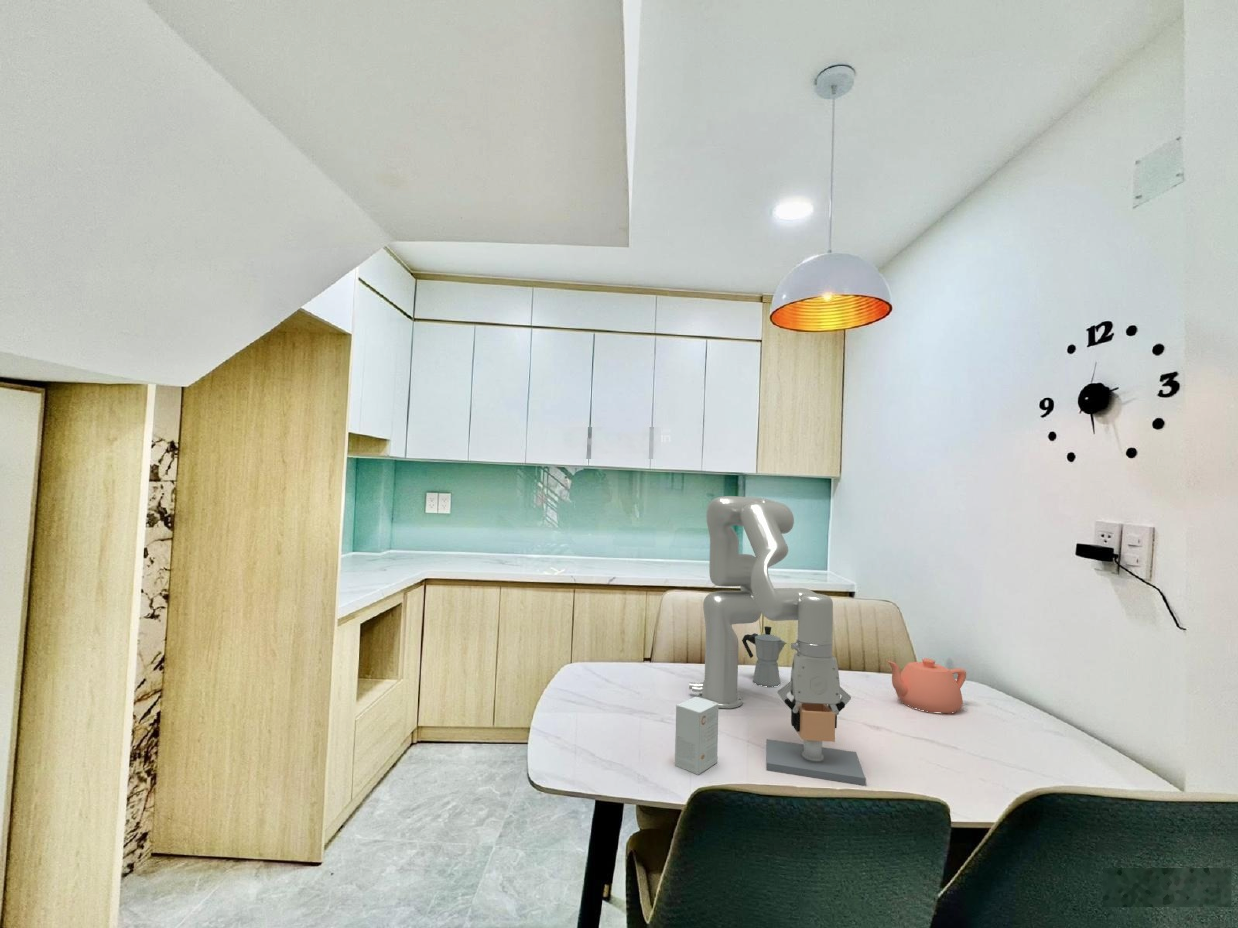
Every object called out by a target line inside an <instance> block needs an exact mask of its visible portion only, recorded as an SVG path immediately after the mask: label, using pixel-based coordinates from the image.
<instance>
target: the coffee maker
mask: <svg viewBox="0 0 1238 928" xmlns="http://www.w3.org/2000/svg"><path fill="white" fill-rule="evenodd" d="M763 628H764V633H762V634H761V633H760V634H758V633H754V632H753V633H752V634H745V635H744V636H743V638H742V639H741V642H742V644H743V647H744V648H745V650H746V653H747V654H748V657H749V659H752V658H753V657H754V655H753V652H752V650H751V648H750V646H749V644H748V642H750V644H751V643H752V644H753V645H755V655H756V659H757V660H756V661H755V662H756V663H755V668H754V673H753V678H752V683H753V684H755V683H756V684H757V685H756V684H755V685H756V686H759V685H762V686H761V687H763V686H767V687H766V688H775V687H774V686H778V685H779V684H780V685H781V680H780V672H779V671H780V670H779V663H778V662H777V661H778V660H779V658H780V653H781V652H782V650H783V649H784V647H785V645H787V644H788V643H787V642H786V641H784V640H782V639H781V638H780V637H778V636H776V635H774V634H772V633H771V631H772V627H771V626H764V627H763ZM780 685H779V686H780ZM772 686H773V687H772ZM779 686H778V687H779Z"/></svg>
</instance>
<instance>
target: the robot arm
mask: <svg viewBox="0 0 1238 928" xmlns="http://www.w3.org/2000/svg"><path fill="white" fill-rule="evenodd" d="M706 523H707V529H708V533H709V565H708V566H709V569H708V570H709V580H710V581H711V583H712V584H713V585H715V586H718V587H740V590H717V591H712V592H710V593H708V594H707V595H705V597H704V600H703V604H702V605H703V606H702V609H703V615H704V622H705V623H704V624H705V625H704V627H705V648H704V649H705V650H704V651H705V652H704V653H705V656H704V680H703V682H700V683H696V682H690V681H689V687H688V689H689V690H691V692H696V693H697V692H698V697H699V698H703V699H707V700H710V701H713V702H716V703H718V704H719V709H734V708H735V709H737V708H739V707H740V706H742V705H743V698H742V697H741V695H739V694H738V678H739V675H738V673H739V672H738V671H739V637H738V635H737V633H736V631H735V630H734V628H733V626H732V625H739V624H742V625H743V624H752V623H753V624H754V623H756V622H758V621H759V619H760V618H761V617H762V616H763V617H765V618H766V619H768V620H769V621H772V622H773V621H774V622H775V621H777V622H783V621H785V622H786V621H797V639H796V642H792V643H790V649H791V650H795V651H796V652H795V653H794V654H793V659H792V664H791V672H790V681H789V682H787V683H786V684H785V685H784V686H782V687H781V688H780V689H778V691H777V694H778V696H779V697H780V698H781V699H782V701H783V702H784V703H785V705H786V706H787V707H788V708H789V709H790V710H791V711H790V713H791V715H790V725H791V726H792V727H793V729H794V728H795V729H794V730H795V732H796V733H797V732H799V731H800V713H799V709H800V707H801V705H802V703H807V704H826V705H828V706H829V707H830V709H831V710H832V711H833V712H834V713H835V729H837V728H838V724H837V723H838V715H840V712H841V711H842V710H844V708H845V707H846V705H847V704H849V702H850V701H851V700H852V696H851V695H850V694H849V693H848V692H847V691H846V690H844V689H843V688H842V687H841V684H840V674H839V666H838V660H837V657H835V656H833V642H834V641H833V640H834V639H833V637H834V635H833V634H834V633H833V632H834V630H833V629H834V625H833V624H834V623H833V621H834V603H833V599H832V597H830V596H828V595H826V594H823V593H822V594H821V593H816V592H814V591H813V590H811V589H808V588H802V587H783V588H782V587H781V588H779V587H778V588H777V587H776V588H774V585H773V583H772V580H771V579H770V575H769V568H770V567H772V566H774V565H776V564H779V563H780V562H781V561H782V560H784V559H785V558H786V557H787V556H788V553H789V547H788V544H787V542H786V540H785V538H784V534H788V533H789V532H791V531H792V530H793V527H794V524H795V519H794V514H793V512H792V509H790V507H789V506H788V505H786V504H784V503H782V502H779V501H775V500H771V499H767V498H764V497H755V496H754V497H753V496H751V497H750V496H737V495H736V496H734V495H726V496H725V495H724V496H719V497H718V496H717V497H715V498H713V499H712V500H711V501H710V502H709V504H708V506H707V509H706ZM733 526H739V527H743V530H744V531H745V532H744V533H746V536H747V538H748V541H749V544H750V546H751V549H752V551H753V553H754V555H753V554H747V553H740V551H739V550H740V540H739V537H738V535H737V532H736V531H735V529H734V528H733ZM789 693H790V695H791V696H793V698H792V700H790V698H789V697H788V696H787V694H789Z"/></svg>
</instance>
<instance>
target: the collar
mask: <svg viewBox="0 0 1238 928" xmlns="http://www.w3.org/2000/svg"><path fill="white" fill-rule="evenodd" d="M799 713H800V731H799V732H797V731H796V733H797V734H798V736H799V737H800V739H801V740H802V741H804V740H810V741H822V742H830V743H835V741H836V728H835V713H834V712H833V711H832V710H831V709H830V707H829V706H828V705H826V704H807V703H802V705H801V707H800V709H799ZM793 729H794V730H795V728H794V727H793Z"/></svg>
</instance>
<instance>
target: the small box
mask: <svg viewBox="0 0 1238 928" xmlns="http://www.w3.org/2000/svg"><path fill="white" fill-rule="evenodd" d="M675 707H676V708H675V710H676V711H675V712H676V713H675V740H674V741H675V742H674V743H675V744H674V746H675V747H674V749H675V750H674V766H675V767H678V768H679V769H684V770H686V771H688V772H689V773H693V774H696V775H700V774H702V773H704V772H705V771H707V770H708V769H709V768H711V767H713V766H714V765H715V764H717V763H718V751H719V750H718V749H719V748H718V747H719V746H718V743H719V742H718V741H719V740H718V739H719V738H718V737H719V736H718V735H719V709H720V708H719V704H718V703H716V702H713V701H710V700H707V699H703V698H699V696H693V697H692V698H689V699H686V700H685V701H683V702H680V703H678V704H676V705H675Z"/></svg>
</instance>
